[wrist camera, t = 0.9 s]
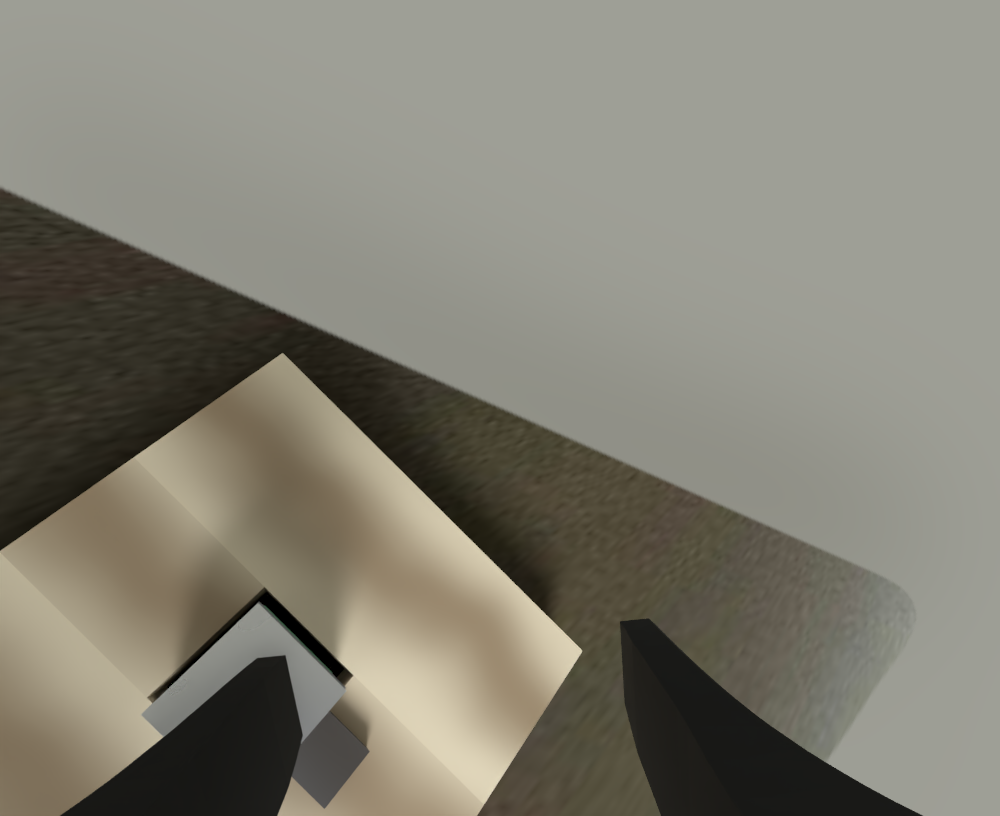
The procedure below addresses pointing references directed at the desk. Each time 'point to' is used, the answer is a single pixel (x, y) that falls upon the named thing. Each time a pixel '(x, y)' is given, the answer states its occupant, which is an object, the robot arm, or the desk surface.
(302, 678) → the grey striped block
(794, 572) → the desk surface
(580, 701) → the desk surface
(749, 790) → the robot arm
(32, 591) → the stand block
